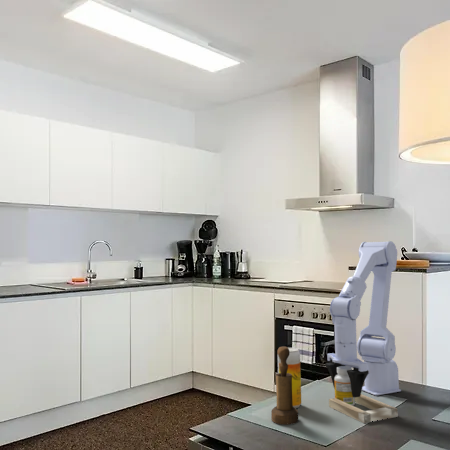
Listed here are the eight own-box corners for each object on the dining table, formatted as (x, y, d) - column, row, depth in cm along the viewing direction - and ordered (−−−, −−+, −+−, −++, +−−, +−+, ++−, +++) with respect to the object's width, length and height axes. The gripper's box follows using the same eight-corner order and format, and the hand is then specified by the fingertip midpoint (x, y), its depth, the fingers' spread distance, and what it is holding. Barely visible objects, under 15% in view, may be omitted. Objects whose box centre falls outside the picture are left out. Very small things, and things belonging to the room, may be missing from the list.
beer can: (302, 409, 129) (301, 351, 130) (279, 409, 129) (278, 351, 130) (299, 402, 135) (298, 347, 136) (277, 402, 135) (276, 347, 136)
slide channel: (360, 401, 135) (360, 393, 135) (397, 416, 122) (397, 408, 122) (329, 406, 131) (328, 399, 131) (364, 423, 118) (363, 414, 118)
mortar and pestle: (268, 423, 119) (266, 348, 120) (275, 414, 125) (273, 343, 126) (295, 426, 117) (293, 349, 118) (300, 417, 123) (299, 344, 124)
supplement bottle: (342, 399, 136) (340, 364, 137) (359, 403, 133) (358, 367, 133) (331, 404, 133) (330, 367, 133) (348, 408, 129) (347, 371, 129)
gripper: (317, 338, 138) (319, 387, 137) (350, 348, 124) (352, 402, 124) (338, 336, 140) (339, 384, 140) (372, 345, 127) (374, 398, 127)
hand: (347, 392), depth 132 cm, fingers open, 7 cm apart
